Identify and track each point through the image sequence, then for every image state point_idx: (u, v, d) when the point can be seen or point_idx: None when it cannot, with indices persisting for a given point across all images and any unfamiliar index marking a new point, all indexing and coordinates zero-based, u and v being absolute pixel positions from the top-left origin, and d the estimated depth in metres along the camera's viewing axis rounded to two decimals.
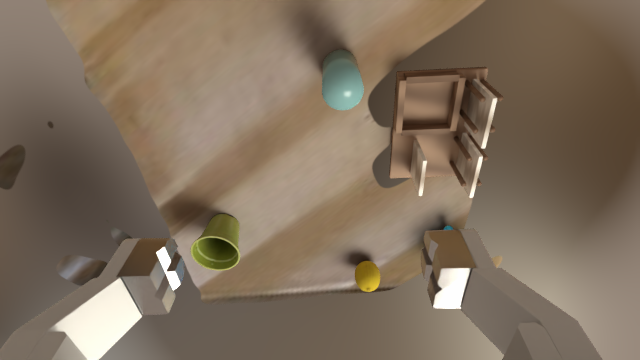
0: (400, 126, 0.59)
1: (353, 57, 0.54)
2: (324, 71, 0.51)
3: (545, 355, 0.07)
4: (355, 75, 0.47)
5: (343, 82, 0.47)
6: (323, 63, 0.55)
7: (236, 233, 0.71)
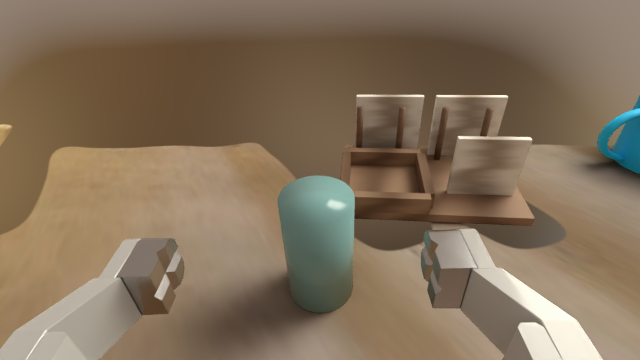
0: (418, 195, 0.37)
1: None
2: (296, 261, 0.26)
3: (545, 355, 0.07)
4: (292, 183, 0.27)
5: (300, 196, 0.26)
6: (304, 302, 0.29)
7: None
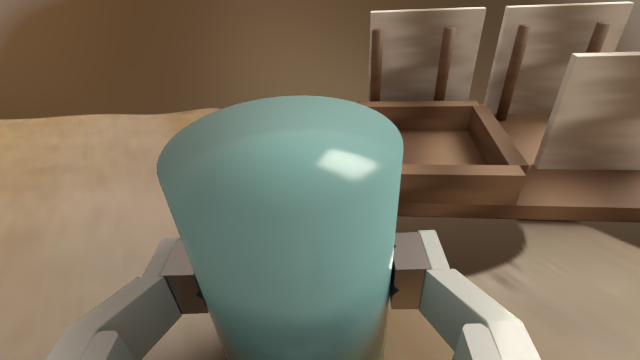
0: (496, 168, 0.19)
1: None
2: (228, 334, 0.09)
3: (485, 356, 0.07)
4: (222, 111, 0.10)
5: (235, 138, 0.09)
6: None
7: None
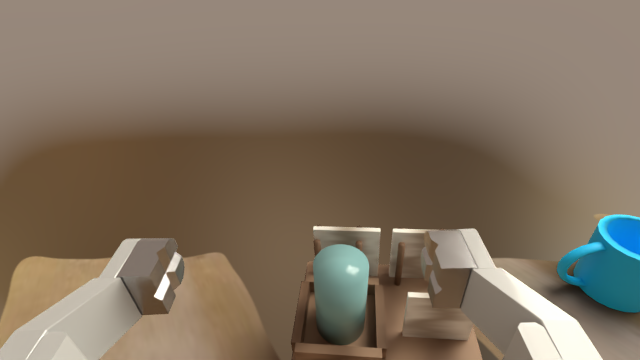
0: (369, 350, 0.36)
1: None
2: (324, 309, 0.36)
3: (545, 355, 0.07)
4: (323, 250, 0.37)
5: (329, 262, 0.36)
6: (328, 337, 0.39)
7: None
